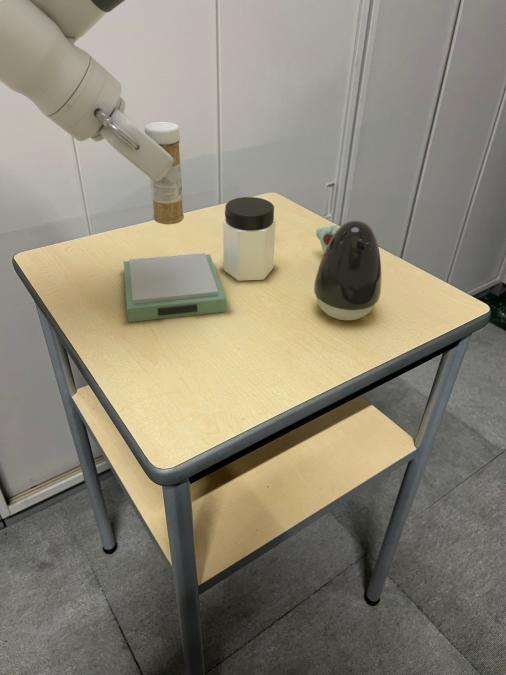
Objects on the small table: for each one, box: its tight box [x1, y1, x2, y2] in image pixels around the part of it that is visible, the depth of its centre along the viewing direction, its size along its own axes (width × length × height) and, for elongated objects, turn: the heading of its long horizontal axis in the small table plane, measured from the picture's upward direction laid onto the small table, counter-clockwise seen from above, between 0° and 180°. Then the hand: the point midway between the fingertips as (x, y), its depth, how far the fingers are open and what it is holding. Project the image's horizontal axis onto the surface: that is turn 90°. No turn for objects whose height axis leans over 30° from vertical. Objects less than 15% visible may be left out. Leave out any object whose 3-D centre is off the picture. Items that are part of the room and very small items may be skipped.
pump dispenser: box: [313, 220, 382, 321], centre depth 78 cm, size 10×10×15 cm
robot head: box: [315, 224, 340, 253], centre depth 94 cm, size 8×4×7 cm, turn 55°
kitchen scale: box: [123, 252, 227, 323], centre depth 85 cm, size 15×15×3 cm
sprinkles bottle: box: [144, 121, 185, 226], centre depth 73 cm, size 5×5×13 cm
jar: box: [222, 196, 277, 282], centre depth 89 cm, size 9×8×12 cm
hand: (169, 171), depth 73 cm, fingers closed on sprinkles bottle, 4 cm apart
